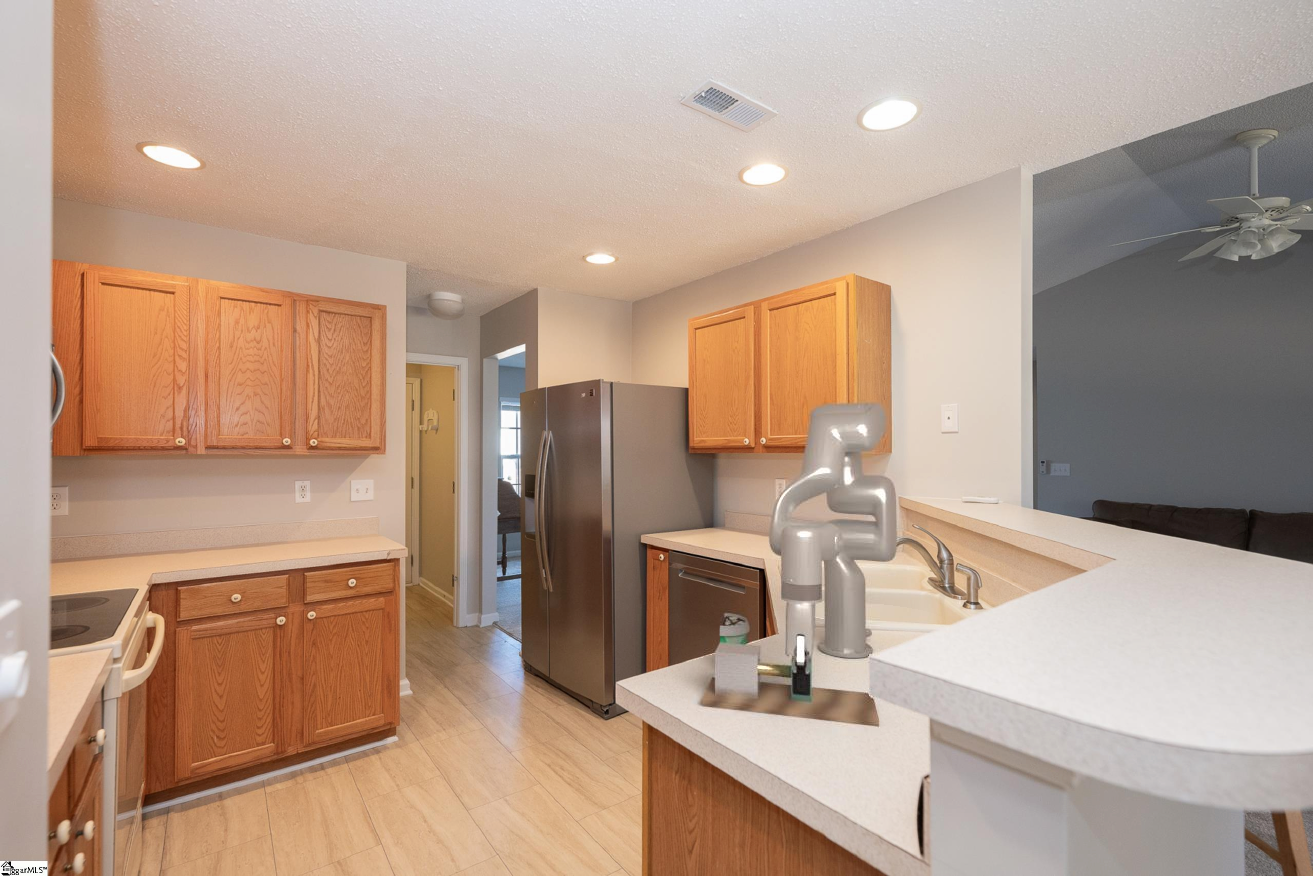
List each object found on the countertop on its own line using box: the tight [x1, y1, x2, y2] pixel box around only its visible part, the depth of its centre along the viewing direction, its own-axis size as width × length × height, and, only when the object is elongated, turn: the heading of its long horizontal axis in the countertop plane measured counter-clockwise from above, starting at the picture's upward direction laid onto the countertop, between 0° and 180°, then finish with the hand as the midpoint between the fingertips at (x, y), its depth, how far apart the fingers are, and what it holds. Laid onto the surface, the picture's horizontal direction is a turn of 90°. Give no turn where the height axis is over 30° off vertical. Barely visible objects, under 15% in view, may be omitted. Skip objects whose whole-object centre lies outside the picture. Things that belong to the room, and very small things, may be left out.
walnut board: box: [701, 676, 880, 727], centre depth 112 cm, size 31×12×1 cm, turn 75°
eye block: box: [714, 642, 761, 699], centre depth 114 cm, size 8×6×8 cm
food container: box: [719, 612, 751, 645], centre depth 133 cm, size 12×6×10 cm, turn 168°
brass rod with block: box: [758, 655, 813, 702], centre depth 113 cm, size 18×4×7 cm, turn 75°
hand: (801, 689), depth 111 cm, fingers closed on brass rod with block, 3 cm apart
